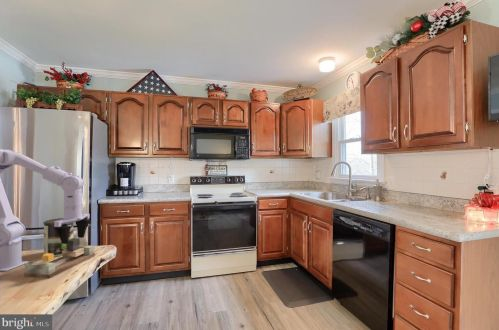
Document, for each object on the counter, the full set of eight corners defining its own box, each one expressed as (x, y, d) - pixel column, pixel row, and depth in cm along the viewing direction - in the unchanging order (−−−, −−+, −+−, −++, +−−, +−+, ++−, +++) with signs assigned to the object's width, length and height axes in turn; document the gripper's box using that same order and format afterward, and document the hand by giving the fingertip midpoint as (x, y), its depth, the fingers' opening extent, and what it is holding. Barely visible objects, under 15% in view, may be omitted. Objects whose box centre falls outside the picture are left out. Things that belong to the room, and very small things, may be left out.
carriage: (61, 256, 95) (61, 240, 95) (70, 252, 99) (70, 237, 99) (75, 256, 95) (75, 241, 94) (83, 253, 99) (83, 238, 98)
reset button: (42, 261, 82) (42, 255, 82) (47, 258, 84) (47, 253, 84) (48, 261, 82) (48, 255, 82) (53, 259, 84) (53, 253, 84)
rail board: (24, 276, 83) (24, 262, 83) (73, 254, 103) (73, 243, 103) (49, 278, 82) (49, 264, 82) (95, 255, 102) (95, 244, 102)
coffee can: (79, 249, 109) (79, 218, 109) (57, 258, 99) (57, 223, 99) (60, 247, 111) (60, 217, 111) (36, 256, 101) (36, 222, 101)
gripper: (66, 210, 89) (66, 247, 89) (95, 203, 103) (96, 235, 104) (49, 209, 90) (49, 246, 90) (81, 203, 104) (81, 234, 104)
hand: (73, 240), depth 97 cm, fingers open, 7 cm apart
